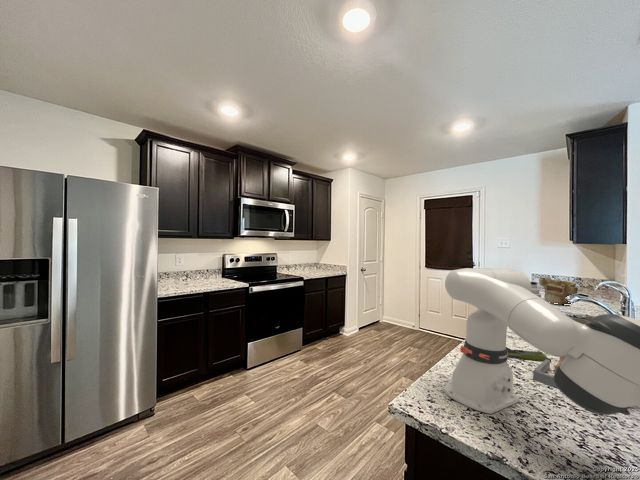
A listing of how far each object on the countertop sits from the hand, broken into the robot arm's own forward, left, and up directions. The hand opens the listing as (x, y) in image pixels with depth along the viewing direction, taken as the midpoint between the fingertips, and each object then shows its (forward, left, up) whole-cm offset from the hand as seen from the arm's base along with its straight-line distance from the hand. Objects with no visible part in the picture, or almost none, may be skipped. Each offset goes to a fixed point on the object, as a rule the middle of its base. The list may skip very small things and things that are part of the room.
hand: (572, 351), depth 94 cm
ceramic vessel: (+148, +31, -10) cm, 151 cm away
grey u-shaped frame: (-5, 0, -9) cm, 11 cm away
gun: (+9, +19, -10) cm, 23 cm away
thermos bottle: (+37, +22, -10) cm, 44 cm away
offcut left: (0, +2, -10) cm, 10 cm away
